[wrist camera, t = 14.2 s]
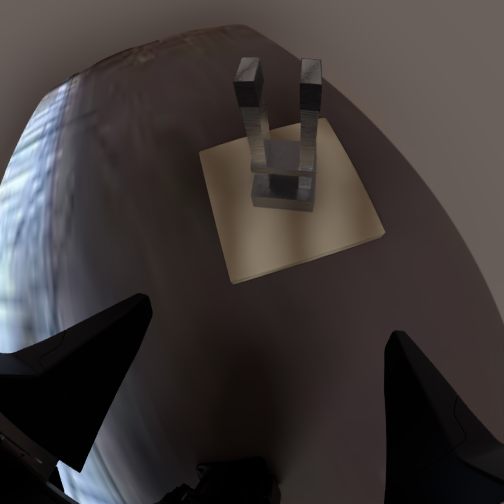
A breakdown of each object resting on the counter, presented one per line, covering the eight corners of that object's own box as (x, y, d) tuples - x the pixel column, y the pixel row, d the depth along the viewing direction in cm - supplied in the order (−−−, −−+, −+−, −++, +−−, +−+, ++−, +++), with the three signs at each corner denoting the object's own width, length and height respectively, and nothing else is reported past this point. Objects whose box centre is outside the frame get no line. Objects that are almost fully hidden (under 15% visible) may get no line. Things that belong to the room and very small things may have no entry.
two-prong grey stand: (253, 206, 24) (221, 95, 12) (260, 162, 25) (239, 48, 13) (312, 212, 23) (329, 99, 11) (315, 167, 24) (326, 51, 12)
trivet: (233, 284, 24) (230, 281, 22) (201, 158, 28) (198, 152, 27) (381, 237, 23) (385, 232, 22) (324, 124, 27) (325, 117, 26)
